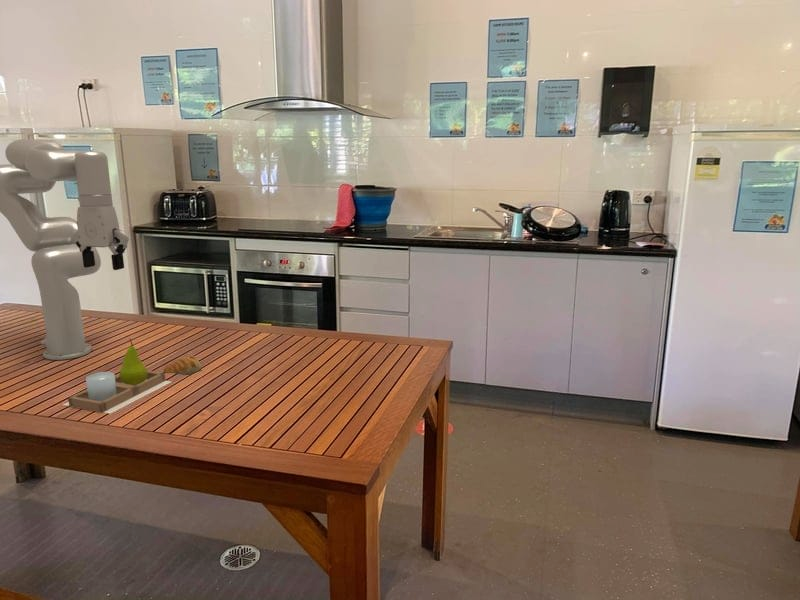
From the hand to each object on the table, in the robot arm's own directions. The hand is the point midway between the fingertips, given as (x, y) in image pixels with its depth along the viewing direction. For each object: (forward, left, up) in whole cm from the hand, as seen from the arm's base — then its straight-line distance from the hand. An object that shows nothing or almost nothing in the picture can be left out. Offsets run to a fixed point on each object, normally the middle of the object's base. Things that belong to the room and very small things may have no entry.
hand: (104, 267), depth 155 cm
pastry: (+18, +6, -29) cm, 34 cm away
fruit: (+15, -9, -27) cm, 32 cm away
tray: (+15, -14, -28) cm, 35 cm away
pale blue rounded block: (+15, -19, -27) cm, 36 cm away
